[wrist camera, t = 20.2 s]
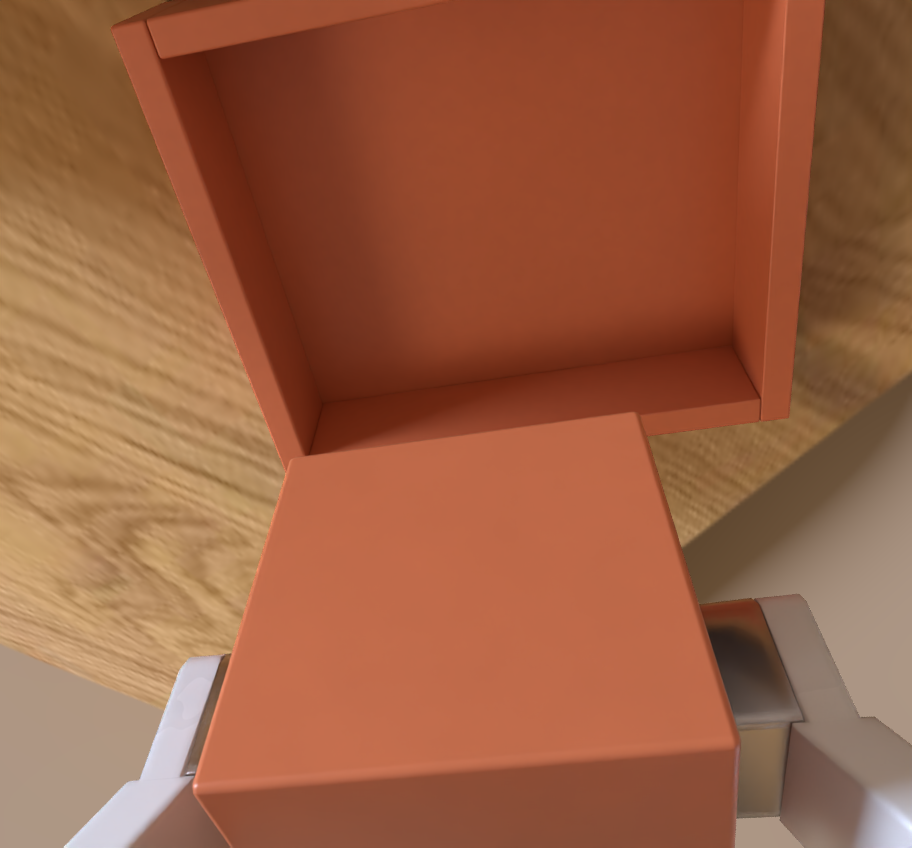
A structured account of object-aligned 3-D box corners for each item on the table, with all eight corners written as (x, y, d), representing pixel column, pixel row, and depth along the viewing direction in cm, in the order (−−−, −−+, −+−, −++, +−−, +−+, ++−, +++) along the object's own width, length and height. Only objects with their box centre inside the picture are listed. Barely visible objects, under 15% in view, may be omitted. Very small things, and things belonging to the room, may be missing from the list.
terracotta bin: (777, -127, 17) (837, -126, 14) (752, 354, 25) (789, 418, 22) (162, 2, 19) (107, 26, 16) (308, 416, 26) (289, 484, 23)
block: (638, 407, 10) (744, 744, 6) (651, 641, 12) (728, 975, 8) (287, 455, 10) (184, 791, 6) (371, 669, 13) (332, 997, 9)
